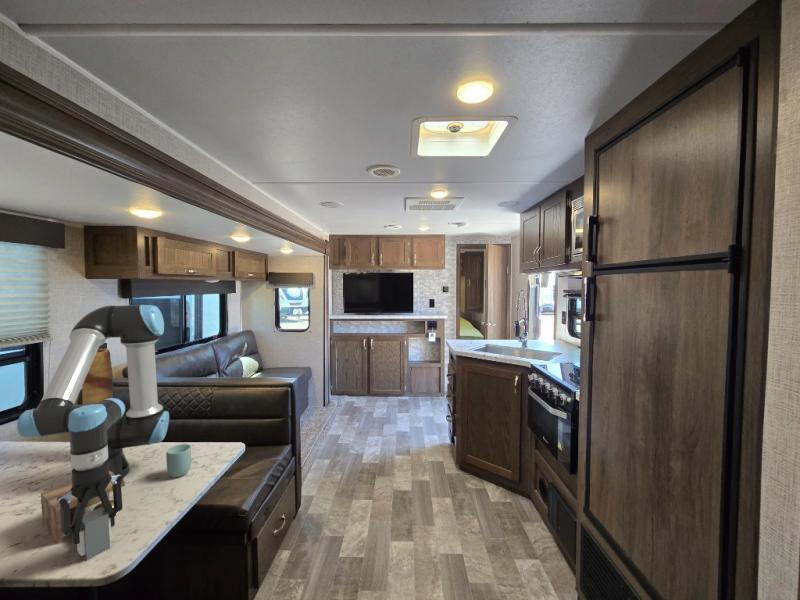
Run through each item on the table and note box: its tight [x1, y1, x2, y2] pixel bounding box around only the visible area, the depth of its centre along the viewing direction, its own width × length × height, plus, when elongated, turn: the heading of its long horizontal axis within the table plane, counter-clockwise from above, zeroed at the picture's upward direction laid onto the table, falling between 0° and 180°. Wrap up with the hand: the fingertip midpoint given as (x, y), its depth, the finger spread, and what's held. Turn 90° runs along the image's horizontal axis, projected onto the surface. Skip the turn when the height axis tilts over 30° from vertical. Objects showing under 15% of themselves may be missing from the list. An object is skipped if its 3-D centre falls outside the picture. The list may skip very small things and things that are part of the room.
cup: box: [165, 443, 192, 478], centre depth 132 cm, size 8×8×10 cm
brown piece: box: [40, 470, 126, 544], centre depth 108 cm, size 14×16×10 cm
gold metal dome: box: [92, 499, 118, 514], centre depth 110 cm, size 6×6×3 cm
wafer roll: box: [81, 347, 114, 405], centre depth 146 cm, size 10×11×45 cm
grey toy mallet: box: [81, 507, 111, 561], centre depth 97 cm, size 15×5×10 cm, turn 58°
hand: (94, 545), depth 95 cm, fingers closed on grey toy mallet, 5 cm apart
